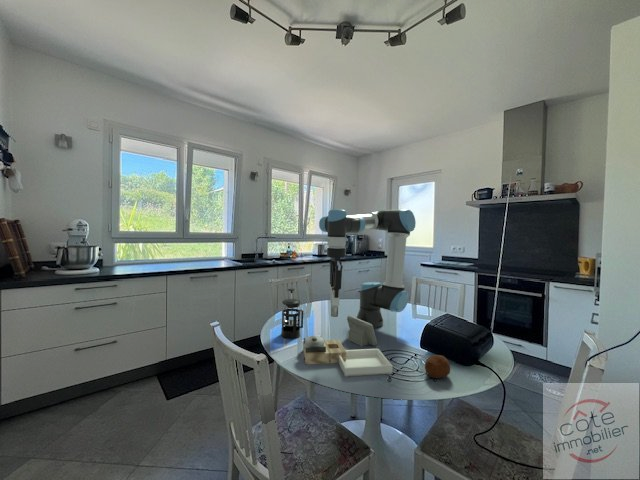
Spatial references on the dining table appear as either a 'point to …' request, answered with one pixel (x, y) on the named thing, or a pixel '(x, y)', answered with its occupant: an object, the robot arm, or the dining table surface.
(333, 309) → the pin
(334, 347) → the wooden holder
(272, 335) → the dining table surface
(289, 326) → the french press
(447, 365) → the potato
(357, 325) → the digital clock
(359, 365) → the tray
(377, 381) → the dining table surface
